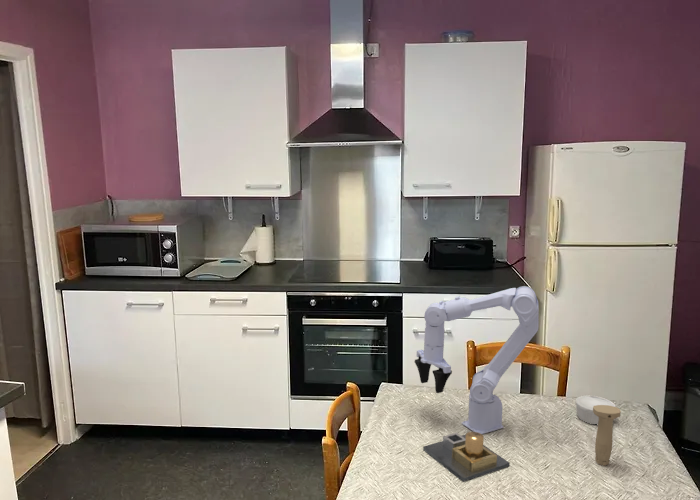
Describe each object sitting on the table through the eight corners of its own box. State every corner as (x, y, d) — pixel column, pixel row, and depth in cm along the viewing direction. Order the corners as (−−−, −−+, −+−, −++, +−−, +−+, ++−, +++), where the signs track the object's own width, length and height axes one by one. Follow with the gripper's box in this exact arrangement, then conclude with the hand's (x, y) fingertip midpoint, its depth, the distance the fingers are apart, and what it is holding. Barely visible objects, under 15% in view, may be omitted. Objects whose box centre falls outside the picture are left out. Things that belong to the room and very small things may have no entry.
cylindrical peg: (475, 454, 150) (476, 430, 149) (486, 463, 146) (487, 438, 145) (461, 458, 148) (462, 434, 147) (472, 467, 144) (473, 442, 143)
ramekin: (617, 416, 174) (618, 400, 173) (611, 431, 165) (613, 414, 164) (578, 407, 180) (579, 391, 179) (570, 421, 171) (572, 405, 170)
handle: (618, 469, 145) (623, 414, 142) (592, 467, 146) (596, 412, 143) (611, 458, 150) (616, 405, 147) (586, 457, 151) (590, 404, 148)
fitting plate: (466, 437, 161) (467, 425, 160) (509, 466, 146) (510, 453, 146) (423, 449, 154) (423, 437, 154) (463, 481, 139) (463, 468, 139)
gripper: (408, 338, 172) (407, 380, 174) (437, 354, 159) (435, 399, 161) (428, 335, 175) (426, 376, 177) (457, 350, 162) (455, 394, 165)
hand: (431, 387), depth 170 cm, fingers open, 7 cm apart
